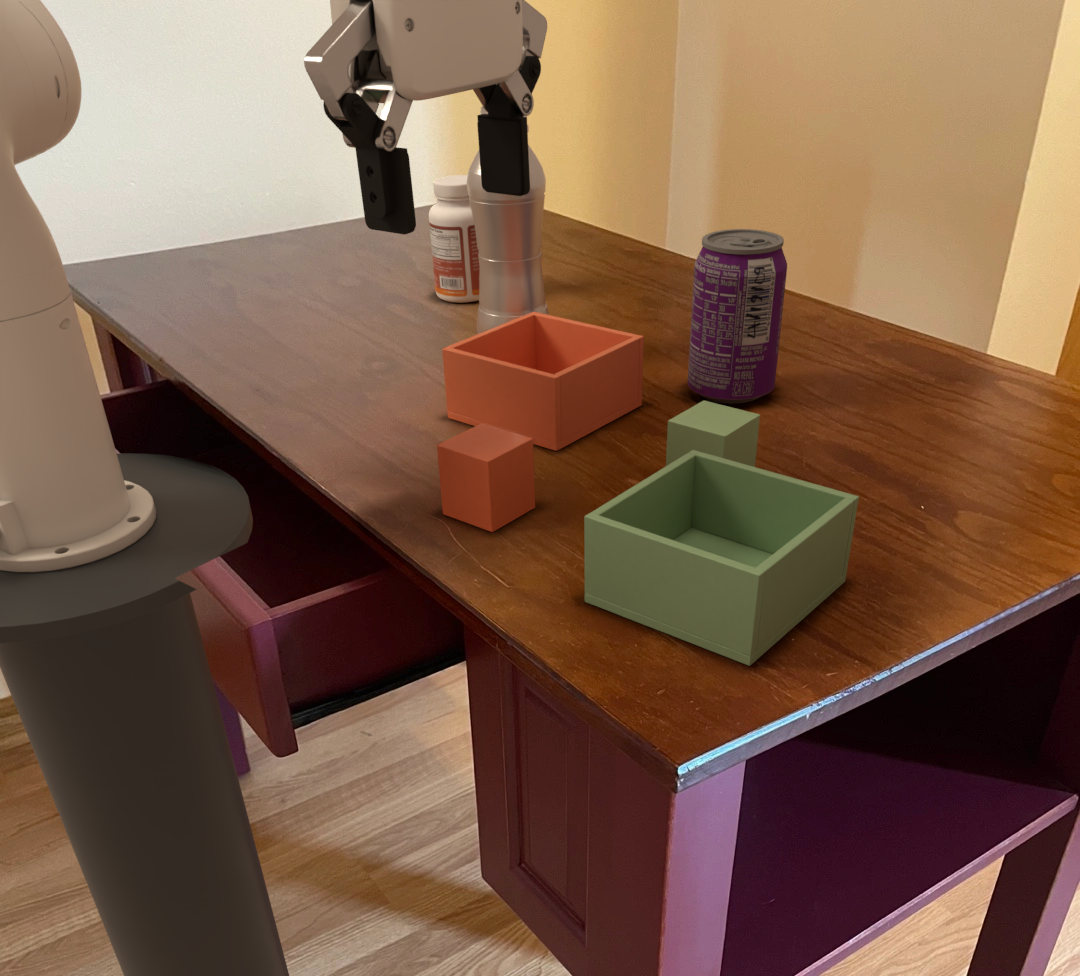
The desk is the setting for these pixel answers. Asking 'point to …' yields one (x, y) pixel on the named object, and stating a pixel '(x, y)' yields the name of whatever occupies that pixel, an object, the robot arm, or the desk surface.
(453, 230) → the pill bottle
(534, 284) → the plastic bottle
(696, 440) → the sage block
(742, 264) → the beverage can
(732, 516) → the sage bin
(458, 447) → the coral block
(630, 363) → the coral bin
